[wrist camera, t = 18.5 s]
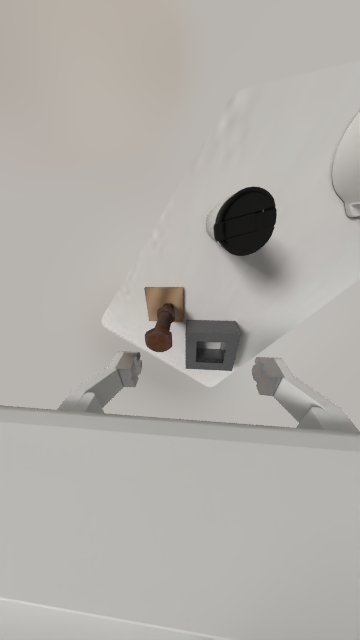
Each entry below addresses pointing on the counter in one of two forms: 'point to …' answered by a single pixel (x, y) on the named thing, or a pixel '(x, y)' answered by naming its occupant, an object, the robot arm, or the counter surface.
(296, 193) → the counter surface
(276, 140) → the counter surface
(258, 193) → the travel mug
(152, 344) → the bolt
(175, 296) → the walnut pad
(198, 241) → the counter surface
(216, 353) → the socket block
